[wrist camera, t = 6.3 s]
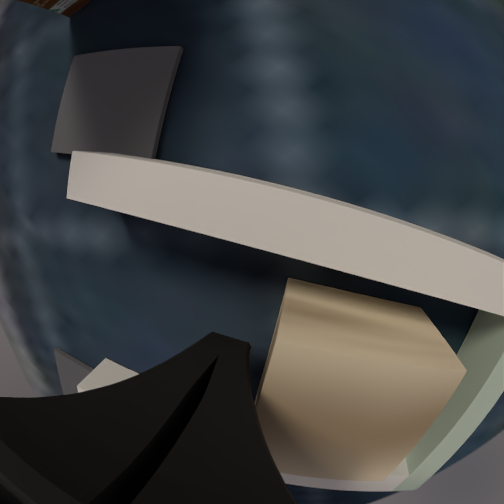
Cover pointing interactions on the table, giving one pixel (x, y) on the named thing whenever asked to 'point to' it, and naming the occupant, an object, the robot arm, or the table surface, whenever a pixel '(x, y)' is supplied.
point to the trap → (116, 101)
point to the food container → (59, 5)
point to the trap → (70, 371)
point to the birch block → (351, 383)
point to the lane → (328, 255)
